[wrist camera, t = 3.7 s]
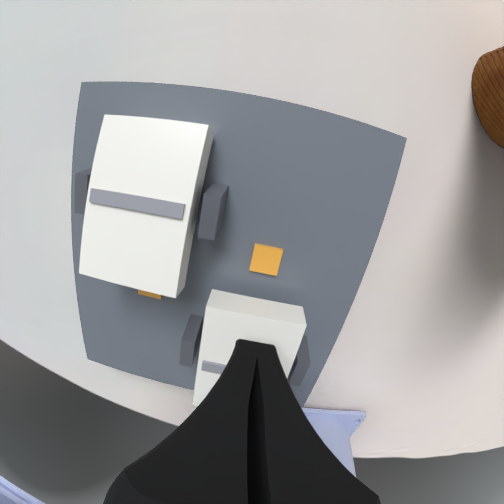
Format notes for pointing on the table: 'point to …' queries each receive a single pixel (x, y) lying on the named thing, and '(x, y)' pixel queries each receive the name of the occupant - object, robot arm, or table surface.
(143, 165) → the rocker
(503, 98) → the disposable coffee cup
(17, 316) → the table surface
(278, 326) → the rocker
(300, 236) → the console
